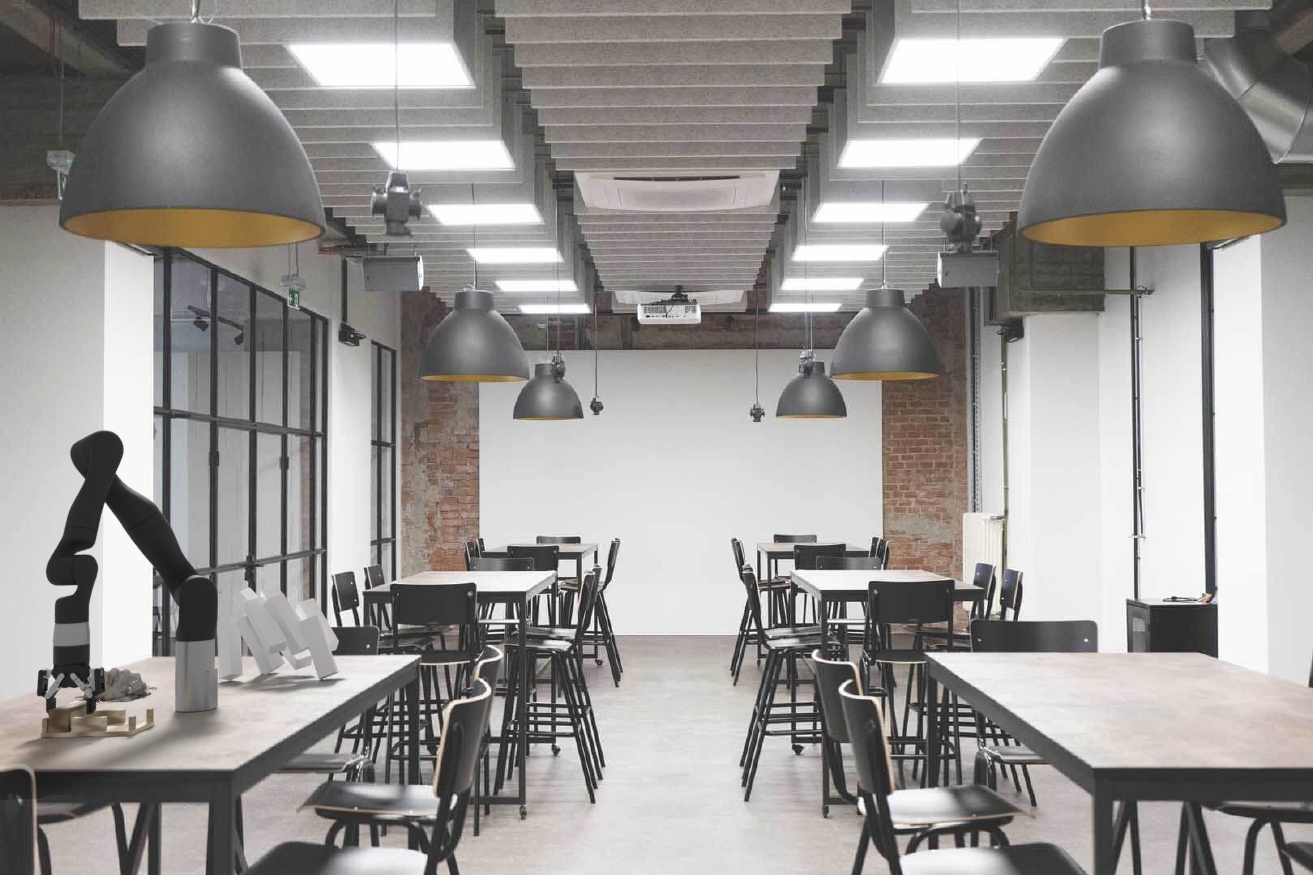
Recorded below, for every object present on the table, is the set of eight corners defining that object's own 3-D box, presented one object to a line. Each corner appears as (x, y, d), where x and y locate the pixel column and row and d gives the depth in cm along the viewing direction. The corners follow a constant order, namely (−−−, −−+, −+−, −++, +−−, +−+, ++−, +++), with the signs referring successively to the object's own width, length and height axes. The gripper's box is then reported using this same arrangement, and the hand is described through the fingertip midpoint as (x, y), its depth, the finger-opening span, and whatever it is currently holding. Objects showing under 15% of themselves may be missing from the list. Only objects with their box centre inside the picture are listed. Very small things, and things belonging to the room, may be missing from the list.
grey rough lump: (62, 674, 298) (101, 647, 328) (56, 712, 299) (97, 683, 328) (138, 682, 301) (171, 655, 331) (133, 720, 301) (166, 690, 331)
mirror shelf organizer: (154, 725, 268) (154, 707, 268) (132, 735, 256) (132, 717, 256) (67, 727, 267) (67, 709, 267) (40, 737, 255) (41, 719, 256)
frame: (93, 722, 267) (93, 699, 268) (68, 732, 255) (68, 708, 256) (74, 722, 267) (74, 700, 268) (48, 732, 255) (48, 709, 256)
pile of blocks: (356, 688, 353) (328, 584, 367) (340, 661, 326) (311, 551, 340) (240, 726, 345) (216, 619, 359) (214, 702, 319) (190, 588, 332)
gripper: (110, 639, 266) (110, 710, 265) (48, 641, 266) (47, 712, 265) (95, 643, 259) (95, 716, 258) (31, 645, 259) (30, 718, 258)
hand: (71, 714), depth 262 cm, fingers open, 8 cm apart
